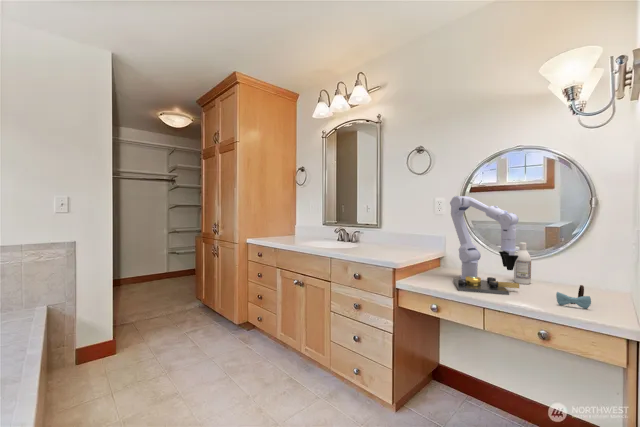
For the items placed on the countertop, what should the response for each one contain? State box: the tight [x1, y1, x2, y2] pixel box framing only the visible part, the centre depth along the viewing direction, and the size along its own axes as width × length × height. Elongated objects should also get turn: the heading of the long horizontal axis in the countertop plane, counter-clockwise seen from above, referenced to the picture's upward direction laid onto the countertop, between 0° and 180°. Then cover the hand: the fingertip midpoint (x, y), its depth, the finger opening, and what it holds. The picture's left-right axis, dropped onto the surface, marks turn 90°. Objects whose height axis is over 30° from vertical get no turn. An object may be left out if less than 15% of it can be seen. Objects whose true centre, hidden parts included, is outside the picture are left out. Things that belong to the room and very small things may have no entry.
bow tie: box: [555, 291, 592, 310], centre depth 110 cm, size 10×2×5 cm, turn 57°
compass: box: [569, 284, 585, 298], centre depth 116 cm, size 8×8×7 cm
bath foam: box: [513, 242, 532, 285], centre depth 144 cm, size 7×7×20 cm
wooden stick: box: [489, 280, 520, 289], centre depth 131 cm, size 12×4×2 cm, turn 73°
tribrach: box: [452, 276, 510, 296], centre depth 137 cm, size 17×20×5 cm
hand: (508, 268), depth 134 cm, fingers open, 7 cm apart
